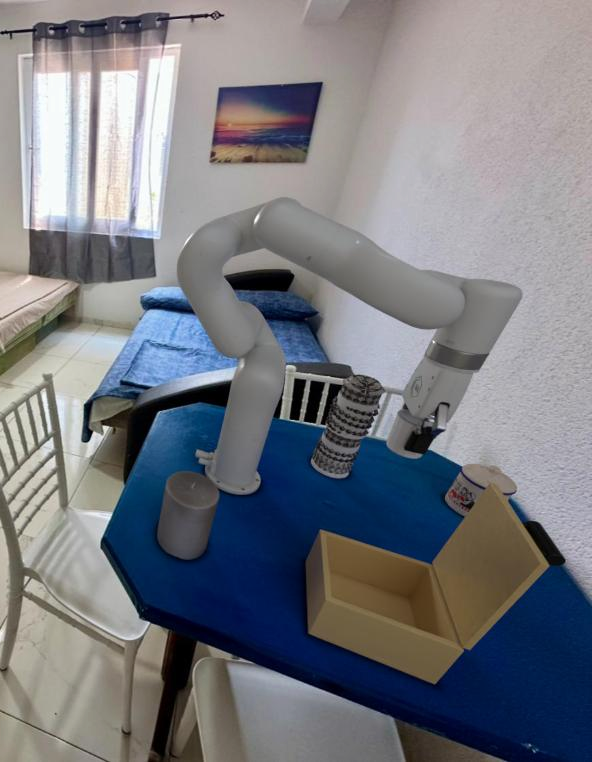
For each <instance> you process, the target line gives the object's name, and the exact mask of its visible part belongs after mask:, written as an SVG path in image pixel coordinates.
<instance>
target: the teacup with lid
mask: <svg viewBox="0 0 592 762" xmlns="http://www.w3.org/2000/svg"><path fill="white" fill-rule="evenodd" d="M459 470H460V472H459V473H458V475H457V477H456V478H455V479H454V481H453V483H452V484H451V487H449V489H448V491H447V492H446V494H445V497H444V500H445V502H446V504H447V505H448V507H450V508H451V509H452V510H453V511H454V512H456V513H458V514H459V515H461V516H463V517H465V516H466V515H467V514H468V512H469V511H470V510H471V508H472V507H473V505H474V504H475V503H476V501H477V500H478V499H479V497H480V496H481V494H482V493H483V492H484V490H485V489H486V488H487V486H488V485H489V483H494V484H497V485H498V487H499V488H500V490H501V492H502V493H503V495H504V496H505V498H506V499H507V501H508V502H509V500H510V499H511V498H512V496H513V495H515V494H516V493H517V490H518V486H517V484H516V482H515V481H514V480H513V479H512V478H511V477H510V476H508V475H507V474H505V473H504V472H502V469H501V468H500V467H499V466H497V465H492V464H491V465H483V464H478V463H467V464H464V465H463V466H461V467H460V469H459Z"/></svg>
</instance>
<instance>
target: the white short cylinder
mask: <svg viewBox="0 0 592 762" xmlns="http://www.w3.org/2000/svg"><path fill="white" fill-rule="evenodd" d="M434 417H435V416H431V415H429V416H428V417H426V418H429V419H434ZM418 421H419V419H417V418H414V417H413V416H412V414H411V412H410V411H409V409H403V408H402V409H400V410H398V411H397V413H396V416H395V419H394V421H393V424H392V427H391V429H390V432H389V435H388V437H387V440H386V443H385V444H386V447H387V448H388V449H389V450H390V451H391V452H393V453H395V454H397V455H399V456H402V457H404V458H407V459H420V458H421V457H422V456H423V455H422V454H418V453H414V452H410V451H406V450H404V445H405V444H406V442H407V440H408V438H409V436H410V434H411V433H412V431H416V427H417V424H418ZM431 425H433V423H431V422H426V421H425V424H424V427H427V426H431ZM424 427H423V428H424ZM433 442H434V440H433V441H432V443H433Z"/></svg>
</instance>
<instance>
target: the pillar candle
mask: <svg viewBox="0 0 592 762" xmlns="http://www.w3.org/2000/svg"><path fill="white" fill-rule="evenodd" d="M219 490H220V489H219V488H218V487H217V486H216V485H215V484H214V482H212V481H211V480H210V479H209V478H207V476H206V475H204V474H201V473H199V472H195V471H190V470H181V471H177V472H174V473H172V474H171V475H169V477H168V478H167V480H166V483H165V488H164V493H163V497H162V498H163V499H162V503H161V504H162V505H161V510H160V515H159V521H158V526H157V533H156V536H157V537H156V538H157V542H158V544H159V545H160V547H161V548H162V549H163V550H164V551H165V552H166V553H167V554H169V555H171V556H174V557H175V558H178V559H182V560H193V559H196V558H199V557H201V556H202V555H203V553H204V552H205V550H207V547H208V543H209V539H210V534H211V530H212V527H213V523H214V518H215V514H216V511H217V507H218V503H219V499H220V491H219Z"/></svg>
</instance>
